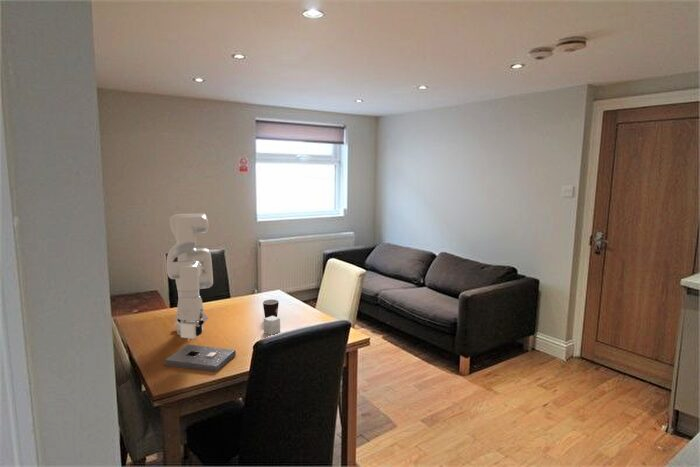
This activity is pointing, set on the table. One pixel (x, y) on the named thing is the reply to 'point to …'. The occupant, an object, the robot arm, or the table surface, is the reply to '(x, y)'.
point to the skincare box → (271, 325)
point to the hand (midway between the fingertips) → (191, 333)
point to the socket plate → (200, 357)
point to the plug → (189, 330)
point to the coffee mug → (270, 307)
